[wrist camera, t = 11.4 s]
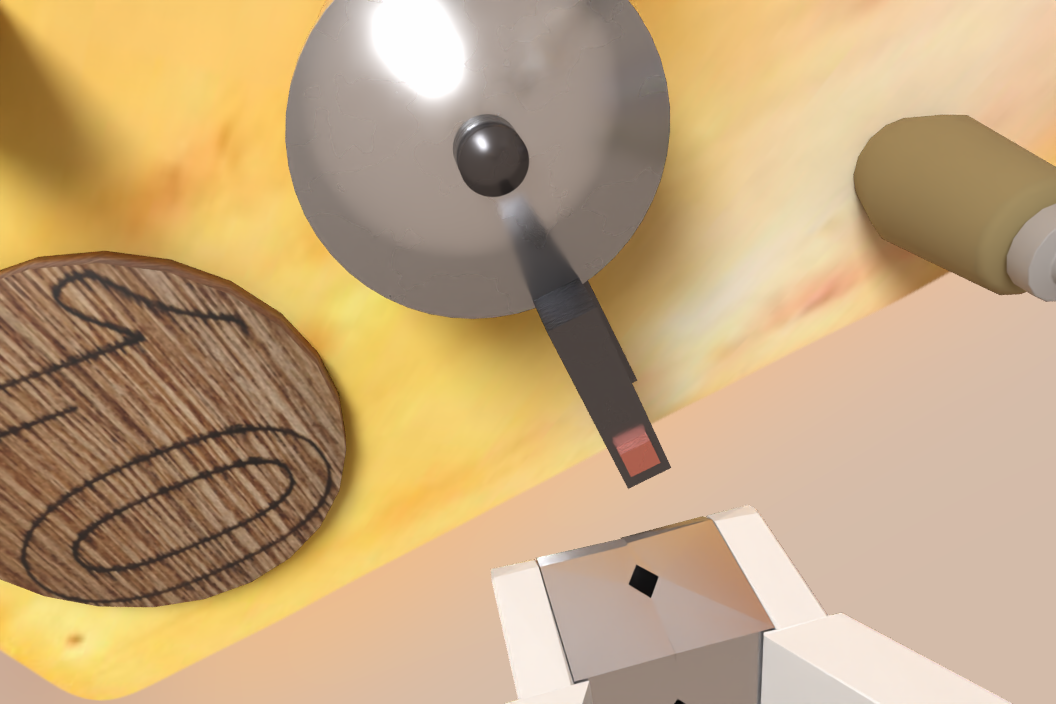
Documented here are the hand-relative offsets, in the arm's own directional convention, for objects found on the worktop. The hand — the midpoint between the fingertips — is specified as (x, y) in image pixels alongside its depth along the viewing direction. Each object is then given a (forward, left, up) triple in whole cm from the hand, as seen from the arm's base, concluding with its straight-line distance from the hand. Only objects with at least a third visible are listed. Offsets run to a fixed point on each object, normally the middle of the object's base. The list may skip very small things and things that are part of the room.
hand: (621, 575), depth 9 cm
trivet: (+26, +13, -38) cm, 48 cm away
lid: (-1, +9, -28) cm, 29 cm away
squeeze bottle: (-23, +21, -37) cm, 49 cm away
